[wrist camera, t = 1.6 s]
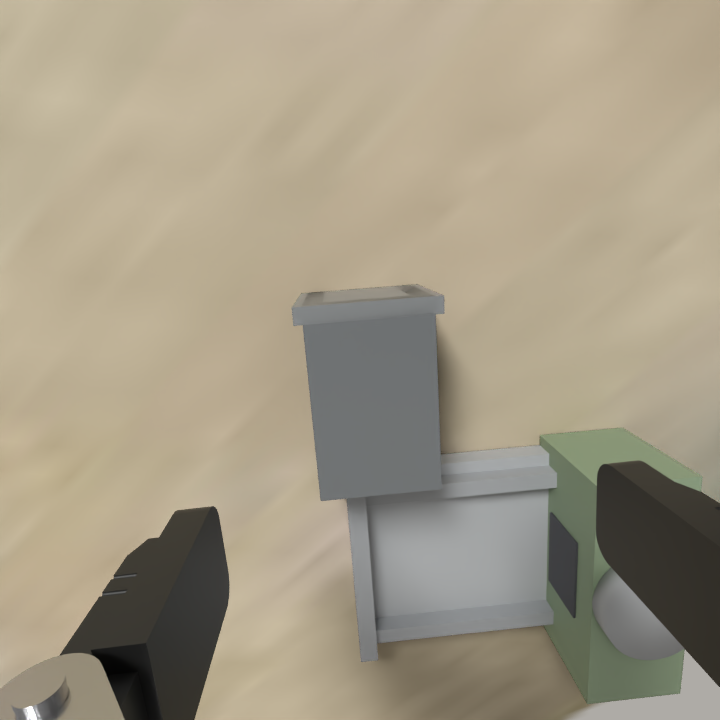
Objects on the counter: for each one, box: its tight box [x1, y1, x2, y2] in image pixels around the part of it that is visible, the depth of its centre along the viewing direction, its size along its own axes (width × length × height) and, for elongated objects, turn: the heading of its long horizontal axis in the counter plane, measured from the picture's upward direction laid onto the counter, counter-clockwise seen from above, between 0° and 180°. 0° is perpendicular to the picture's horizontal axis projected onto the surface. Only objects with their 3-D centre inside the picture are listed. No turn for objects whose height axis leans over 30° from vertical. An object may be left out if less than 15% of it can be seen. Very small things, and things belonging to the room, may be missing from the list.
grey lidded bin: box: [292, 284, 444, 501], centre depth 19 cm, size 7×5×5 cm
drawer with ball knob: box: [347, 428, 702, 704], centre depth 21 cm, size 10×13×6 cm
